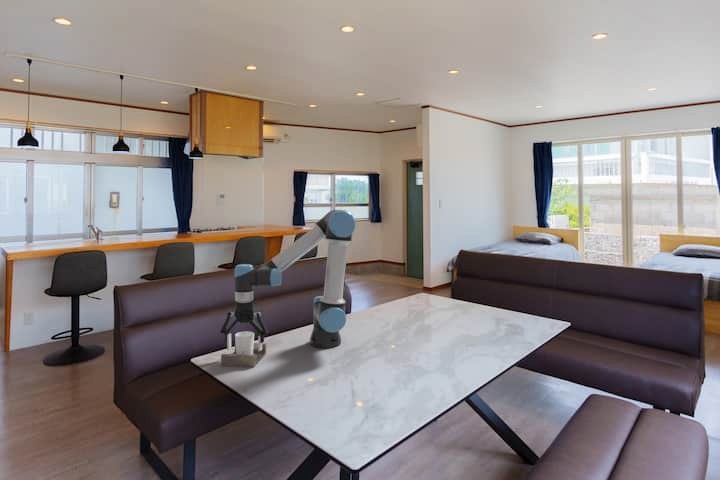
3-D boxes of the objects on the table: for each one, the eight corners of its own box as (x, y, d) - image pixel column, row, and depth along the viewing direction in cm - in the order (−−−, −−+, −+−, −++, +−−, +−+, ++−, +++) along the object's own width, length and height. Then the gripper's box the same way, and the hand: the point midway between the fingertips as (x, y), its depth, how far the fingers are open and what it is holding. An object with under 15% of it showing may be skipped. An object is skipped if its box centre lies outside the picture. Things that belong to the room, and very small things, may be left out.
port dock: (266, 353, 182) (266, 343, 182) (254, 367, 166) (254, 356, 166) (235, 352, 183) (235, 342, 183) (221, 365, 168) (221, 355, 167)
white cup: (234, 360, 170) (234, 337, 169) (235, 354, 178) (235, 331, 177) (254, 359, 172) (254, 336, 171) (254, 352, 180) (254, 330, 179)
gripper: (211, 302, 170) (212, 351, 172) (270, 303, 168) (270, 353, 170) (219, 298, 178) (220, 345, 179) (275, 299, 176) (275, 347, 177)
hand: (244, 349), depth 175 cm, fingers open, 13 cm apart
